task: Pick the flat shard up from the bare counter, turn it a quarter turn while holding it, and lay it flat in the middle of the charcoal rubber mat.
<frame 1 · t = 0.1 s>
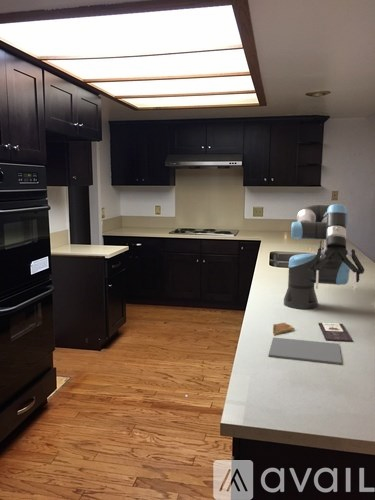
hand: (335, 288, 155), 15 cm above the worktop, tool tilted 35°, fingers open, 13 cm apart
shard: (283, 332, 155), on the worktop
rubber mat: (304, 350, 135), on the worktop
chocolate bar: (334, 334, 152), on the worktop
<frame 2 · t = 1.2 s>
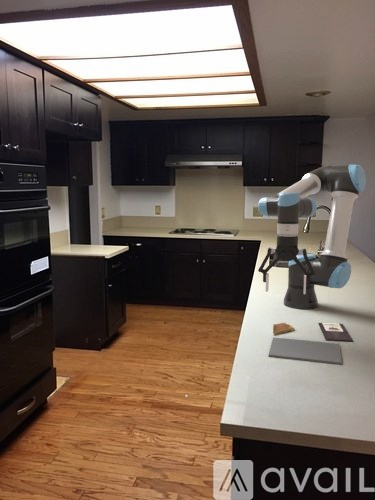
hand: (285, 292, 152), 15 cm above the worktop, tool pointing down, fingers open, 13 cm apart
nothing on the worktop moved.
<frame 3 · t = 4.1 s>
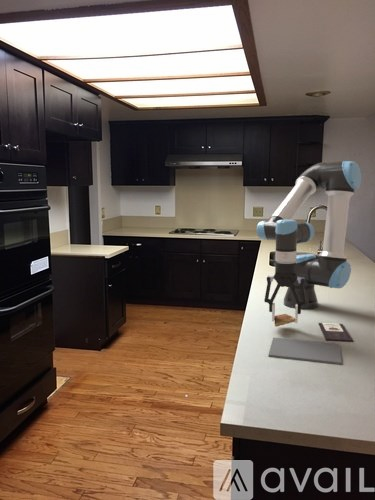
hand: (284, 321, 154), 4 cm above the worktop, tool pointing down, fingers closed on shard, 8 cm apart
shard: (285, 323, 155), point 3 cm above the worktop, touching gripper
everything else where it was.
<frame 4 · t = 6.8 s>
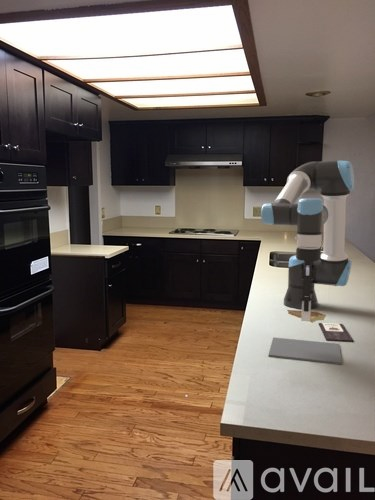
hand: (305, 316, 133), 12 cm above the worktop, tool pointing down, fingers closed on shard, 8 cm apart
shard: (306, 319, 133), point 11 cm above the worktop, touching gripper
everything else where it was.
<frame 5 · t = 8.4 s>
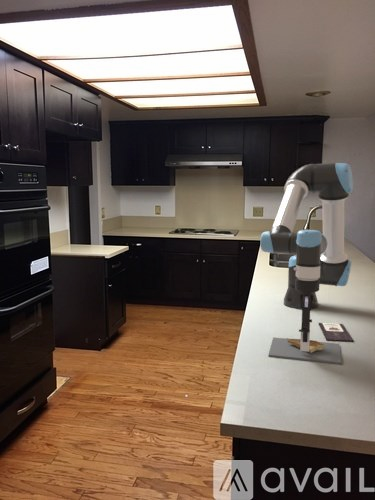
hand: (304, 345, 135), 2 cm above the worktop, tool pointing down, fingers closed on shard, 8 cm apart
shard: (304, 348, 135), point 1 cm above the worktop, touching gripper
everything else where it was.
when the fingers open (1 cm above the worktop, at t = 9.4 s): shard stays where it is, resting on rubber mat.
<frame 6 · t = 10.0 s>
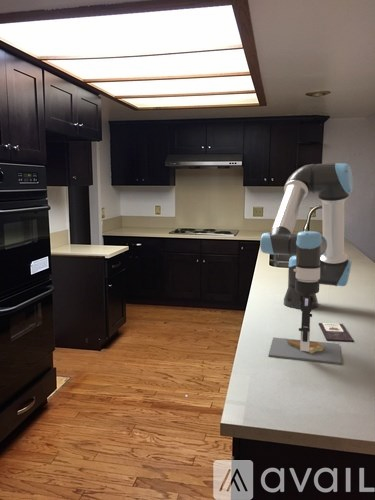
hand: (305, 342, 135), 3 cm above the worktop, tool pointing down, fingers open, 13 cm apart
shard: (304, 349, 135), resting on rubber mat
everything else where it was.
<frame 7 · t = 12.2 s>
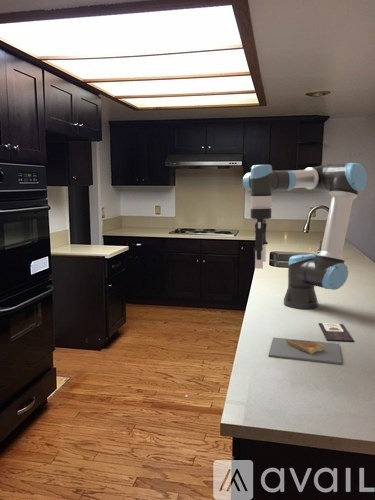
hand: (260, 264, 153), 25 cm above the worktop, tool pointing down, fingers open, 13 cm apart
nothing on the worktop moved.
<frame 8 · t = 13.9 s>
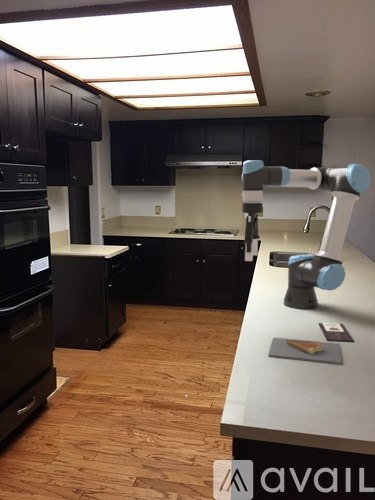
hand: (251, 258, 157), 27 cm above the worktop, tool pointing down, fingers open, 13 cm apart
nothing on the worktop moved.
at the end: shard inside the target area on the rubber mat (0.4 cm from its centre), point 0.4 cm above the rubber mat's base; shard touching rubber mat; the gripper is holding nothing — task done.
